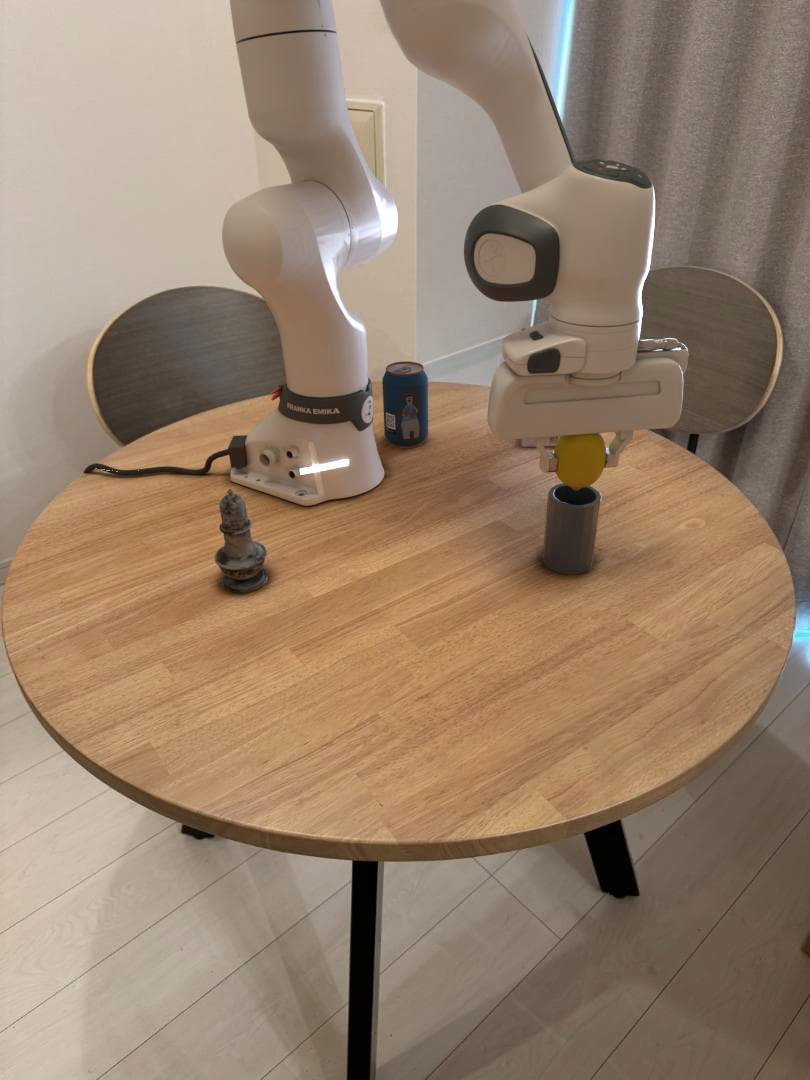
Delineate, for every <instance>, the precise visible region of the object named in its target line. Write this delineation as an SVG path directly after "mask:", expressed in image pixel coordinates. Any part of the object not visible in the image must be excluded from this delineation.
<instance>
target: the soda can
mask: <svg viewBox="0 0 810 1080" xmlns="http://www.w3.org/2000/svg"><path fill="white" fill-rule="evenodd" d="M381 383H382V400H383V401H382V405H383V406H382V407H383V408H382V409H383V428H384V429H383V431H384V433H383V434H384V436H385V439H386V440H387V441H388V443H389V444H390V445H391V446H392V447H395V448H398V449H399V448H400V449H411V448H412V449H413V448H417V447H419V446H421V445H422V444H424V442H425V441H426V439H427V437H428V435H429V377H428V374H426V371H425V367H424V365H423V364H421V363H419V362H416V361H415V362H414V361H396V362H392V363H389V364H388V365H386V367H385V372H384V374H383V377H382V382H381Z"/></svg>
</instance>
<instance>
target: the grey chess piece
mask: <svg viewBox="0 0 810 1080" xmlns="http://www.w3.org/2000/svg"><path fill="white" fill-rule="evenodd" d="M226 493H227V494H226V495H224V496H223V497H222V498H220V500H219V504H218V507H219V512H220V519H221V523H220V524H219V527H218V528H219V531H220V532H221V533H222V534H223V539H224V545H223V546H221V547H220V548H219V549H218V550H217V551H216V552H215V554H214V557H213V558H214V562H215V564H216V565H217V566H218V568H219V569H220V571H221V572H222V573H223V575H224V576H223V577H222V579H221V585H222V588H223V589H224V590H226V591H227V592H230V593H233V594H247V593H252V592H254V591H257V590H259V589H261V588H262V587H264V585H265V584H267V582H268V578H269V575H268V573H267V571H266V570H265V569H263V567H264V564H265V560H266V557H267V553H268V550H267V548H266V546H265V545H264V544H262V543H260V542H259V541H255V540H253V538H252V531H251V529H252V527H253V521H252V520H251V519H249V518H248V517H249V516H248V511H247V505H246V501H245V500H246V499H245V498H244V497H243V496H242V495H240V494H237V493H236V494H235V493H234V490H233V489H231V488H229V489H228V490H227V491H226Z"/></svg>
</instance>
